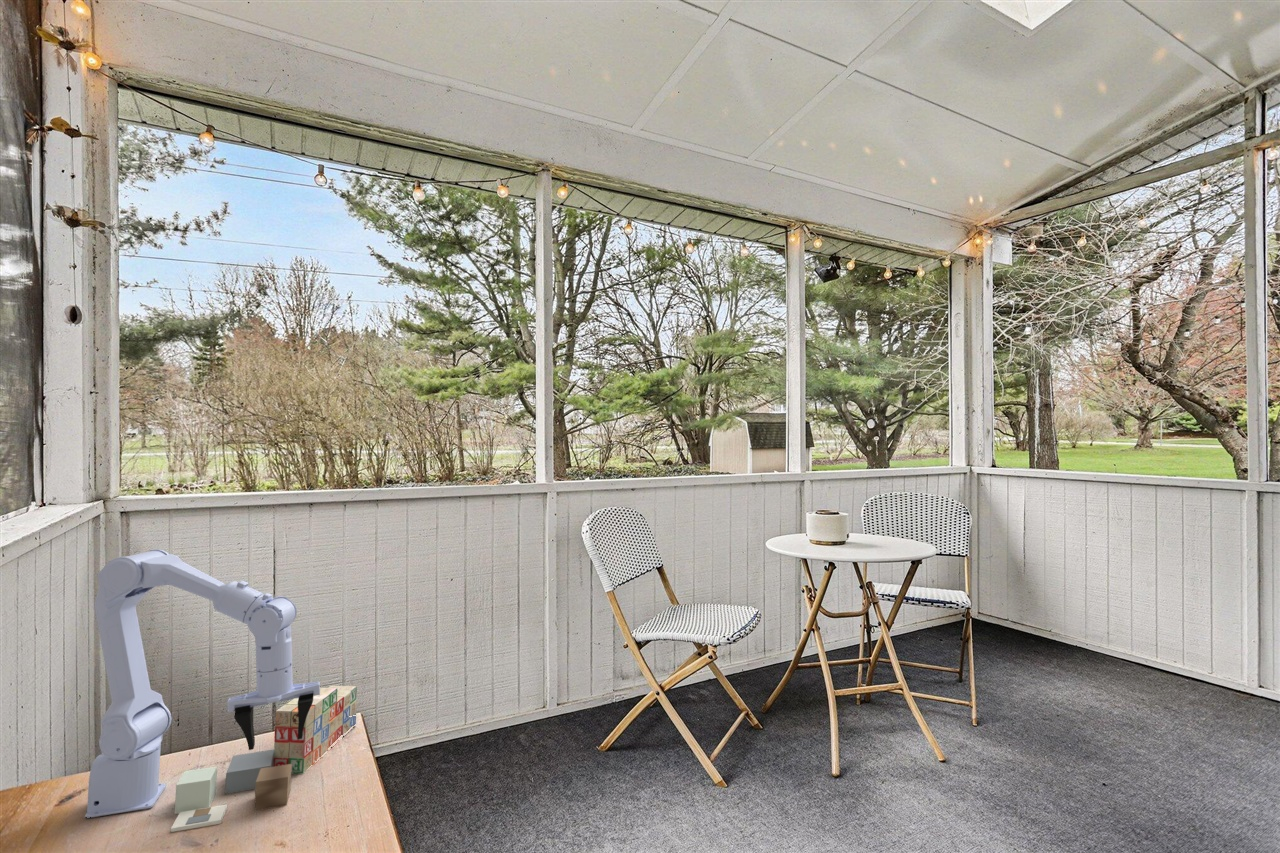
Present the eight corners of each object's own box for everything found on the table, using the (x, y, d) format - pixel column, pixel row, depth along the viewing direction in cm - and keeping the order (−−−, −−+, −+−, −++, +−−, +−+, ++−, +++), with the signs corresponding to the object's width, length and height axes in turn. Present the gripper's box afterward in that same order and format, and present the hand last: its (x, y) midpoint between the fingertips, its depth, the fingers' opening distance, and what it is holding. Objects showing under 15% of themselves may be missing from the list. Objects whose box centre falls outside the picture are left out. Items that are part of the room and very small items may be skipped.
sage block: (174, 814, 108) (176, 784, 108) (183, 799, 112) (184, 771, 112) (208, 808, 109) (210, 779, 110) (215, 794, 114) (217, 766, 114)
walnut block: (254, 811, 109) (255, 781, 109) (259, 796, 114) (260, 768, 114) (286, 805, 111) (288, 776, 111) (290, 791, 116) (291, 763, 116)
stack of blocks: (329, 725, 143) (332, 671, 144) (356, 726, 143) (358, 672, 143) (272, 773, 122) (275, 709, 122) (303, 774, 122) (306, 710, 122)
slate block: (225, 795, 114) (226, 772, 114) (232, 776, 120) (233, 755, 121) (269, 787, 117) (270, 765, 117) (273, 769, 123) (274, 749, 124)
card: (170, 832, 102) (170, 827, 102) (179, 815, 107) (180, 811, 107) (220, 823, 105) (220, 819, 105) (227, 807, 110) (227, 803, 110)
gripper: (223, 681, 107) (225, 762, 106) (318, 665, 113) (320, 740, 113) (230, 669, 113) (231, 745, 113) (319, 654, 120) (321, 726, 119)
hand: (276, 742), depth 113 cm, fingers open, 7 cm apart
